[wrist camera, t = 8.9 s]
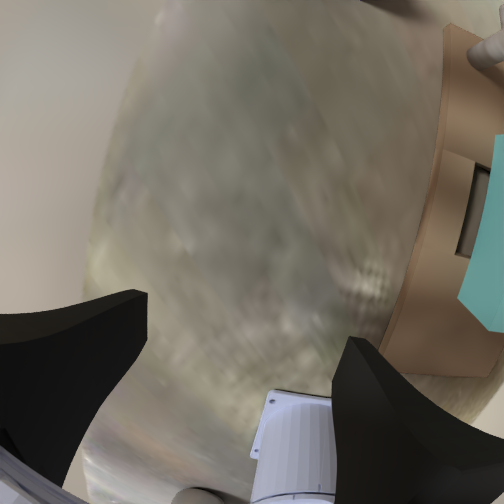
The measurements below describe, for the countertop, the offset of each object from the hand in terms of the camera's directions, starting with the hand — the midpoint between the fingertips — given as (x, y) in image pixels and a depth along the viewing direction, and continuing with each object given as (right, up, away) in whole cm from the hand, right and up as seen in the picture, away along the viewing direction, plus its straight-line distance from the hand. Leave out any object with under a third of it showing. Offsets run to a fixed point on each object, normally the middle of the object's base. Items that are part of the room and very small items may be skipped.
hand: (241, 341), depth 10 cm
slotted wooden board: (+16, +5, +6) cm, 18 cm away
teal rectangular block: (+16, +5, +5) cm, 18 cm away
